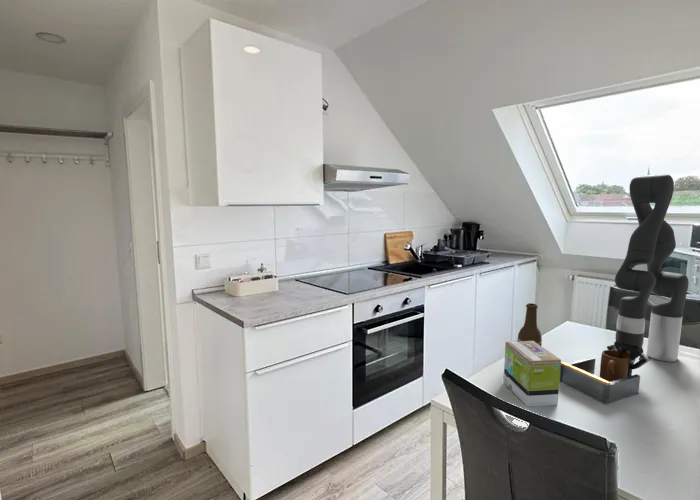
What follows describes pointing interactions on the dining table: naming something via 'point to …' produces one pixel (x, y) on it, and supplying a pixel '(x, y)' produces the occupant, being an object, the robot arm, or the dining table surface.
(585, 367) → the bracket
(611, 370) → the mug
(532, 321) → the beer bottle
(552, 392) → the tea box
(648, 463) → the dining table surface
